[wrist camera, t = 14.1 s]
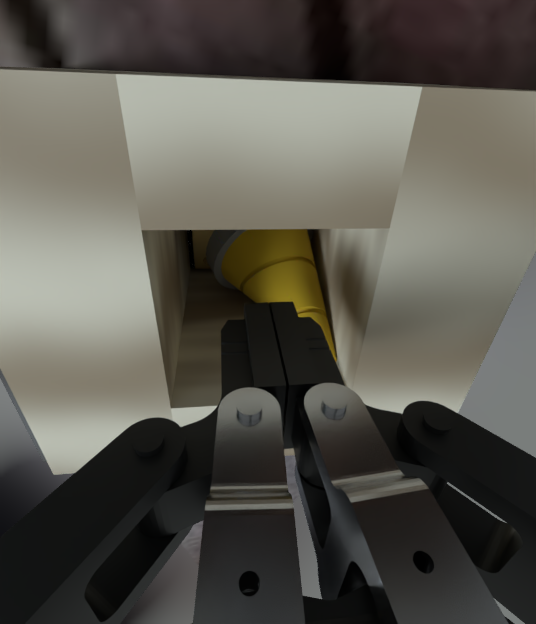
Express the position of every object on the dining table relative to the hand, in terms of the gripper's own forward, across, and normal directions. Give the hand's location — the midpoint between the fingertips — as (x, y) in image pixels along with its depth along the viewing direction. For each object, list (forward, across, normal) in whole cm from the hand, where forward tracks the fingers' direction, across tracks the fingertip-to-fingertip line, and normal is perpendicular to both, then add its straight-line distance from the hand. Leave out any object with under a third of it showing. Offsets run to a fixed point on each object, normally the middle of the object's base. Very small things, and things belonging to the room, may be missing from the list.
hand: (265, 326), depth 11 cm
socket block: (+11, 0, 0) cm, 11 cm away
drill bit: (+9, -2, +1) cm, 10 cm away
